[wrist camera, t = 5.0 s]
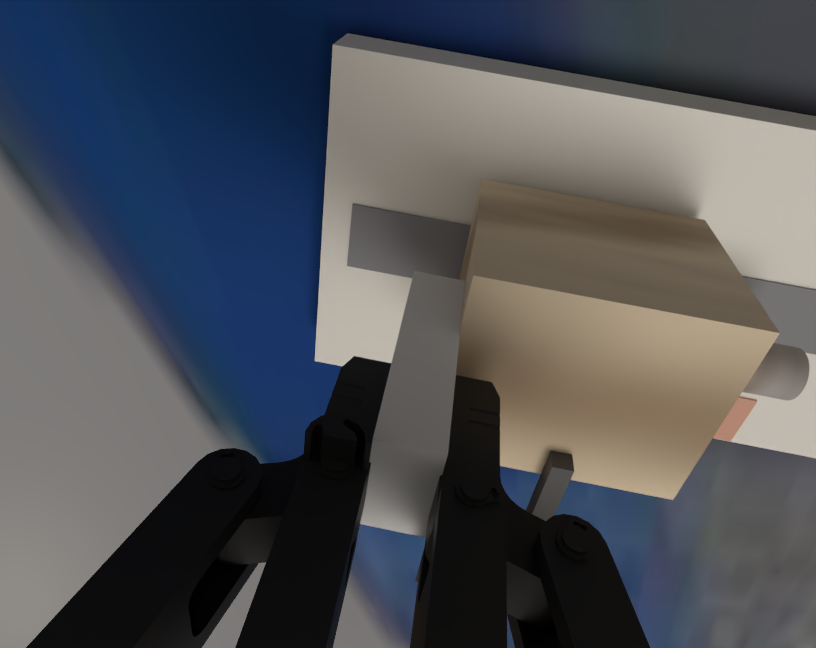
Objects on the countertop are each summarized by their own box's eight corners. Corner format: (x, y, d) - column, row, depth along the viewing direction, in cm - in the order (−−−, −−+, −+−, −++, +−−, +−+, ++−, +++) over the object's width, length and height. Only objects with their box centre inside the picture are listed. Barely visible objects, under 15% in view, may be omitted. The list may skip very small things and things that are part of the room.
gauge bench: (347, 33, 19) (227, 125, 10) (1316, 205, 18) (2005, 451, 10) (326, 332, 26) (244, 527, 17) (1020, 466, 25) (1274, 736, 17)
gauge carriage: (481, 178, 18) (472, 288, 13) (802, 237, 18) (930, 376, 13) (430, 408, 24) (409, 550, 19) (672, 456, 24) (721, 613, 18)
